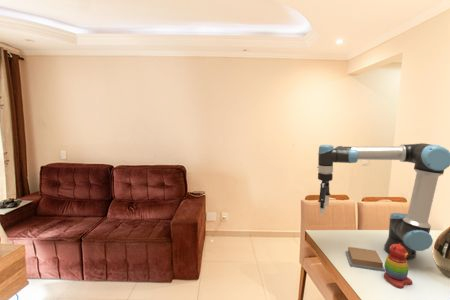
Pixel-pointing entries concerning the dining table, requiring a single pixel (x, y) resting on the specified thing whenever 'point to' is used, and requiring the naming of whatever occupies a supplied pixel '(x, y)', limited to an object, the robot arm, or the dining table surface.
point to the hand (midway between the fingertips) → (324, 209)
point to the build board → (364, 259)
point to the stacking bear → (397, 266)
